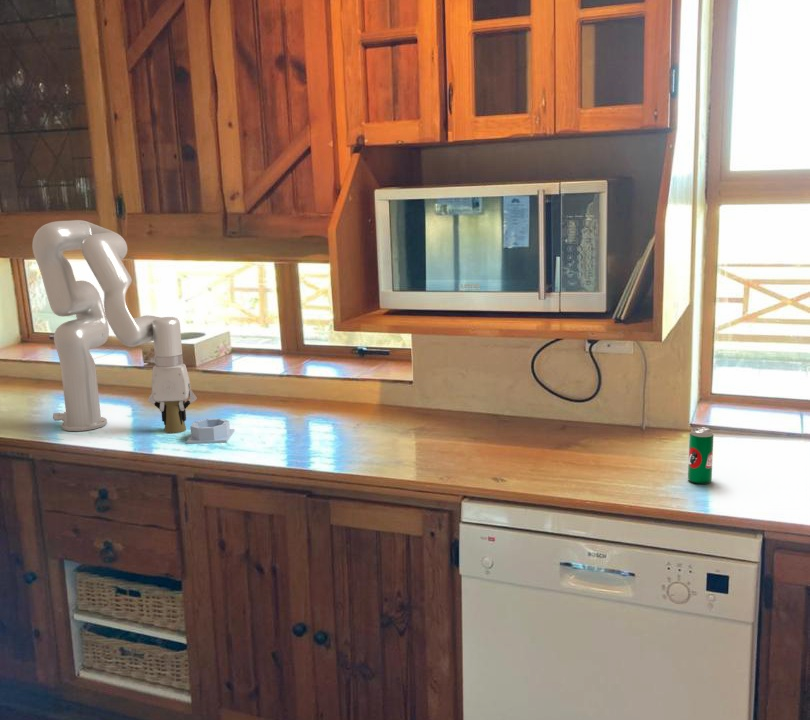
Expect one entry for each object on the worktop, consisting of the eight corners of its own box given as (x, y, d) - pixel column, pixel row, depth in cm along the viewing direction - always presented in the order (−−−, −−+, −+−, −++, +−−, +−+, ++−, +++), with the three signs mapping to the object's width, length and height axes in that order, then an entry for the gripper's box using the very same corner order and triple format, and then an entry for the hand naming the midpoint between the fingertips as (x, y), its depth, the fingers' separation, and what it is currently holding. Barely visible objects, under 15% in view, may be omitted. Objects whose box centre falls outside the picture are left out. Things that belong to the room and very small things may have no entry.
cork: (189, 427, 249) (186, 390, 247) (181, 433, 243) (178, 395, 241) (169, 427, 250) (166, 390, 247) (161, 433, 244) (158, 395, 242)
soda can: (711, 486, 189) (713, 433, 187) (686, 483, 191) (688, 431, 188) (711, 478, 194) (714, 427, 191) (688, 476, 195) (690, 425, 193)
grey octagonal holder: (186, 443, 233) (185, 429, 232) (195, 432, 244) (194, 418, 243) (226, 442, 233) (225, 428, 232) (234, 431, 244) (233, 417, 243)
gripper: (135, 364, 239) (141, 428, 242) (195, 362, 239) (200, 426, 242) (143, 359, 246) (149, 420, 250) (201, 357, 246) (206, 419, 250)
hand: (174, 422), depth 246 cm, fingers closed on cork, 3 cm apart
